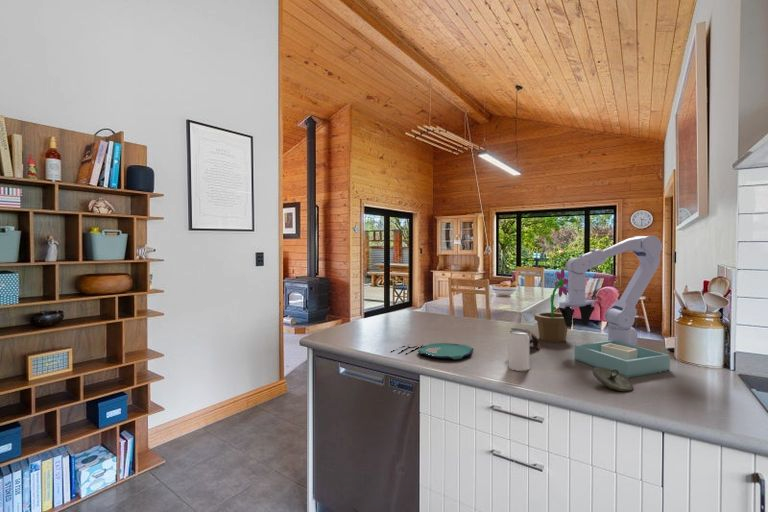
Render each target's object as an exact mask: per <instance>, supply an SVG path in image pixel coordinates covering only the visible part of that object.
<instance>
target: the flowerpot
mask: <svg viewBox="0 0 768 512" xmlns="http://www.w3.org/2000/svg"><path fill="white" fill-rule="evenodd" d="M565 272H566V271H565V269H564V268H561V270H560V271H559V270H556V272H555V274H556V279H557V280H558V281H556V282H554V286H555V287H554V289H553V290H552V294H551V295H550V311H543V312H541V311H540V312H536V313H534V314H533V315H534V316H533V318H534V321H536V322H537V323H536V324H537V329H538V337H539V339H540V340H541V341H543V342H548V343H564V342H566V341H567V335H568V334H567V333H568V328H569V327H567V326H566V324H565V321H564V317H563V315H562V313H561V312H554V311H556V310H557V308H556V306H555V305H554V300H555V295H556V291H557V290H558V297H559V298H561V297H562V295H563V294H564V295H565V296H567V295H568V289H567V287H566V286H565V285H568V278H567V277H565V275H566V274H565Z"/></svg>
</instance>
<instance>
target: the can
mask: <svg viewBox="0 0 768 512" xmlns="http://www.w3.org/2000/svg"><path fill="white" fill-rule="evenodd" d="M507 343H508V344H507V345H508V346H507V347H508V349H507V352H508V355H507V356H508V358H507V359H508V360H507V362H508V368H509V369H510V368H511V369H513V370H512V371H514V370H518V371H517V372H527V371H529V370H530V347H529V336H528V332H526V331H521V330H512V331H511V330H510V331H509V334H508V339H507ZM511 369H510V370H511ZM526 370H527V371H526Z"/></svg>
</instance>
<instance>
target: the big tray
mask: <svg viewBox="0 0 768 512" xmlns="http://www.w3.org/2000/svg"><path fill="white" fill-rule="evenodd" d="M609 343H611V344H616V345H620V346H625V347H629V348H634V349H637V359H631V360H624V359H621V358H618V357H614V356H611V355H608V354H605V353H602V352H601V345H605V344H609ZM574 360H575V361H578V362H581V363H584V364H587V365H589V366H593V367H594V368H595V367H602V368H608V369H611V370H614V369H616V370H618V371H619V373H620V374H622V375H624V376H625V377H626V378H627V379H629V378H635V377H639V376H640V377H642V376H647V375H654V374H658V373H657V372H659V373H663V372H662V371H665V372H668V371H667V370H670V371H671V367H670V366H671V354H669V353H668V354H667V353H665V352H664V353H663V352H661V351H660V352H659V351H656V350H652V349H650V348H649V349H648V348H646V347H645V348H644V347H643V346H642V347H641V346H638V345H637V346H634V345H630V344H626V343H623V342H619V341H615V340H611V341H608V340H605V341H596V342H588V343H581V344H574ZM653 373H654V374H653Z"/></svg>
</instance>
